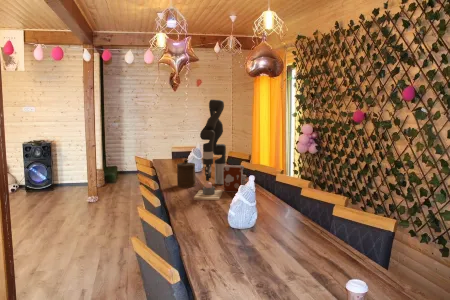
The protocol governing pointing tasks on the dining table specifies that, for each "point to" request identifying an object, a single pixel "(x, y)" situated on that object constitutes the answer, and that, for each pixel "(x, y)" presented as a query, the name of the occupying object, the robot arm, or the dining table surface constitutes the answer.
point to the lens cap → (208, 185)
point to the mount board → (208, 197)
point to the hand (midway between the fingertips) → (208, 179)
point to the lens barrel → (208, 190)
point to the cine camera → (233, 177)
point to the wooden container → (186, 174)
